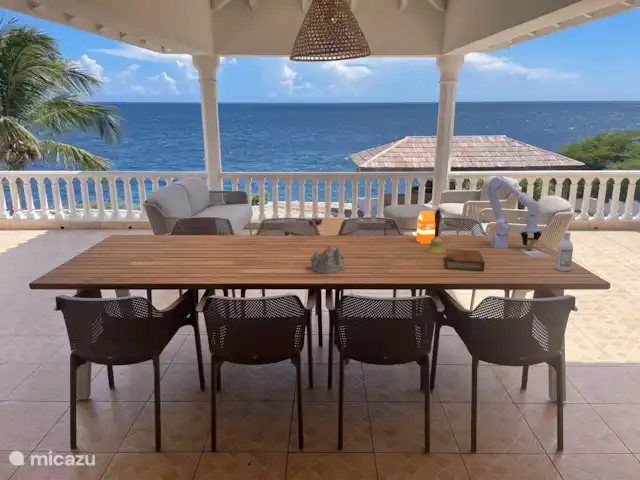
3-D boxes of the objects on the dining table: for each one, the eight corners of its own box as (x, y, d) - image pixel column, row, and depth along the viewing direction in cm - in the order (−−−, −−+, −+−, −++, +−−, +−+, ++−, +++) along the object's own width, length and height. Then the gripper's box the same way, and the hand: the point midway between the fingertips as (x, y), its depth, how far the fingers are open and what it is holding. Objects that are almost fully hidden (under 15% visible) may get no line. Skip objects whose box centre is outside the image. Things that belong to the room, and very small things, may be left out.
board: (532, 258, 285) (533, 256, 284) (518, 250, 301) (518, 248, 301) (549, 257, 286) (549, 255, 285) (533, 250, 302) (534, 248, 302)
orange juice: (416, 240, 324) (417, 210, 320) (428, 240, 326) (430, 209, 322) (421, 243, 317) (423, 212, 312) (434, 242, 319) (436, 211, 314)
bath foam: (573, 270, 262) (578, 233, 257) (562, 271, 260) (566, 234, 255) (563, 267, 268) (567, 230, 263) (552, 268, 266) (557, 231, 261)
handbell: (450, 252, 297) (453, 210, 291) (434, 254, 291) (436, 212, 285) (437, 247, 307) (439, 207, 301) (421, 249, 302) (423, 208, 296)
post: (528, 252, 297) (529, 242, 296) (526, 251, 299) (527, 241, 298) (531, 252, 297) (533, 242, 296) (529, 251, 300) (530, 241, 298)
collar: (527, 246, 294) (528, 240, 293) (522, 244, 300) (523, 238, 299) (536, 246, 295) (537, 240, 294) (531, 244, 300) (532, 237, 299)
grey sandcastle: (349, 269, 262) (348, 241, 259) (323, 276, 253) (321, 247, 250) (332, 264, 275) (331, 237, 272) (307, 270, 266) (305, 242, 263)
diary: (483, 272, 260) (484, 261, 259) (446, 270, 264) (447, 259, 263) (479, 260, 282) (480, 250, 281) (445, 258, 286) (445, 248, 285)
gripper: (523, 223, 289) (521, 246, 293) (547, 223, 291) (544, 245, 294) (517, 221, 296) (515, 243, 299) (541, 220, 298) (538, 243, 301)
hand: (529, 244), depth 297 cm, fingers closed on collar, 6 cm apart
